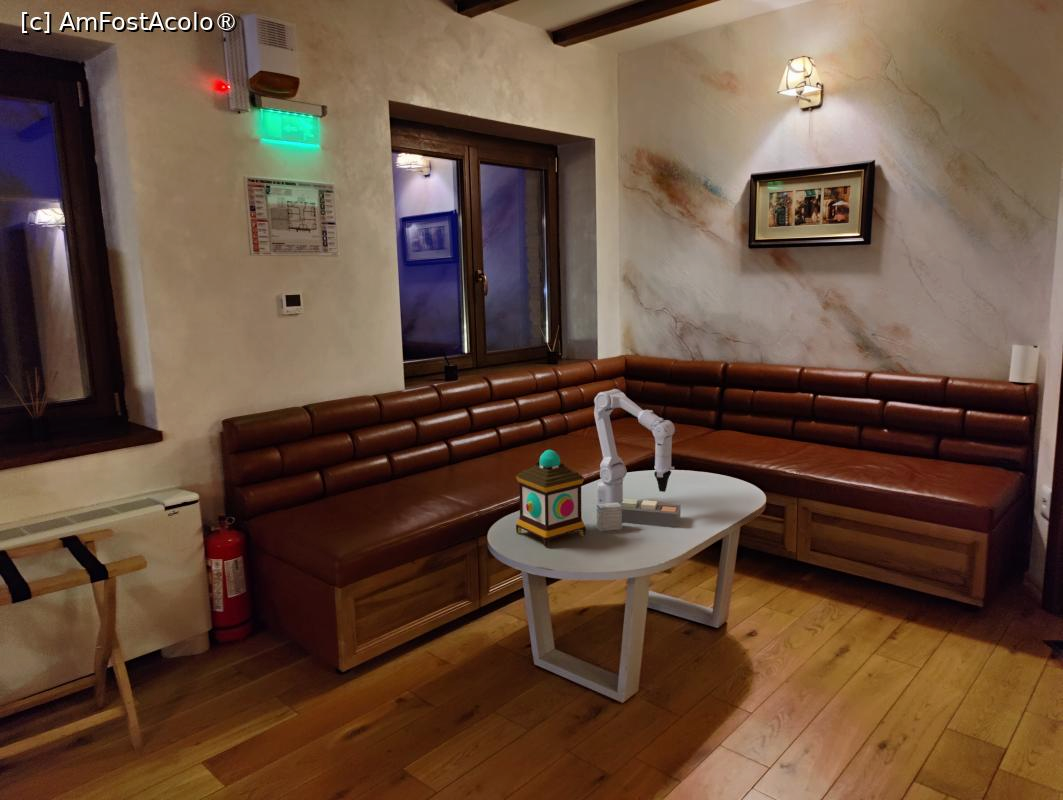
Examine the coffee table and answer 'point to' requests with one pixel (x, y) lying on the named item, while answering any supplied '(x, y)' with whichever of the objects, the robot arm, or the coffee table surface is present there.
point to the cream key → (649, 505)
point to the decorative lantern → (550, 499)
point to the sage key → (630, 503)
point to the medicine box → (609, 516)
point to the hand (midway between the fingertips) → (662, 491)
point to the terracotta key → (669, 509)
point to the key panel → (652, 515)
